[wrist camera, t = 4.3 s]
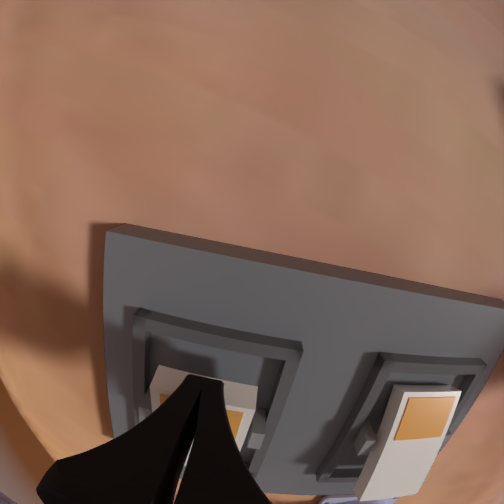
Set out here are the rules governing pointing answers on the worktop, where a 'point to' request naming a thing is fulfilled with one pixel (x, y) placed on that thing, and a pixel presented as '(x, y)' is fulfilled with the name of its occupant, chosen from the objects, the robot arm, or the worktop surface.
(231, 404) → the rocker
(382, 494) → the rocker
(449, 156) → the worktop surface
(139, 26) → the worktop surface
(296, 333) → the breaker panel
